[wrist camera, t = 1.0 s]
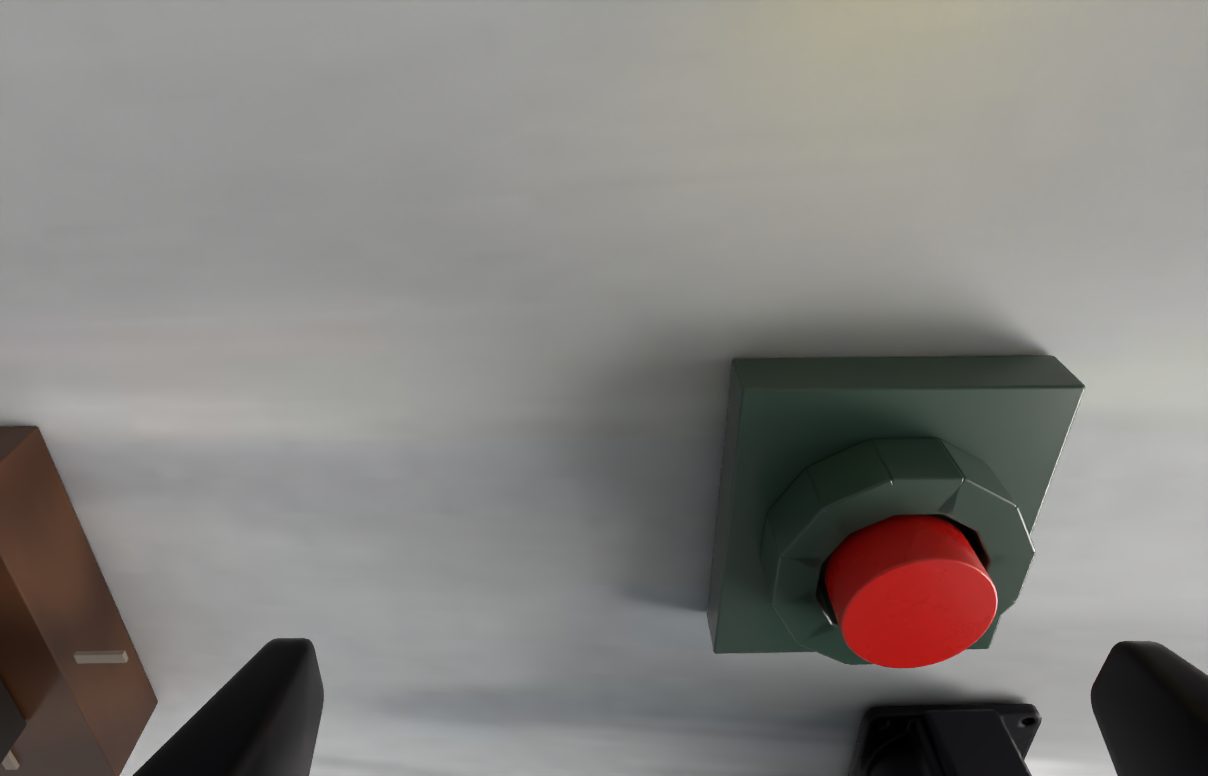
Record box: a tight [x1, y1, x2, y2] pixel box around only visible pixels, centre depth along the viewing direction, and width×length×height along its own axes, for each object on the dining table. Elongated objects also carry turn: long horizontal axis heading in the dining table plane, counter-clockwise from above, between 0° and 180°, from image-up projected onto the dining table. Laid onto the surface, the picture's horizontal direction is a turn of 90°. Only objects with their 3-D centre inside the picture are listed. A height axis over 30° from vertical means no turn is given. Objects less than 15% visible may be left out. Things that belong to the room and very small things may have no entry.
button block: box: [707, 356, 1085, 665], centre depth 23 cm, size 10×9×4 cm
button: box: [825, 514, 998, 668], centre depth 21 cm, size 4×4×2 cm
